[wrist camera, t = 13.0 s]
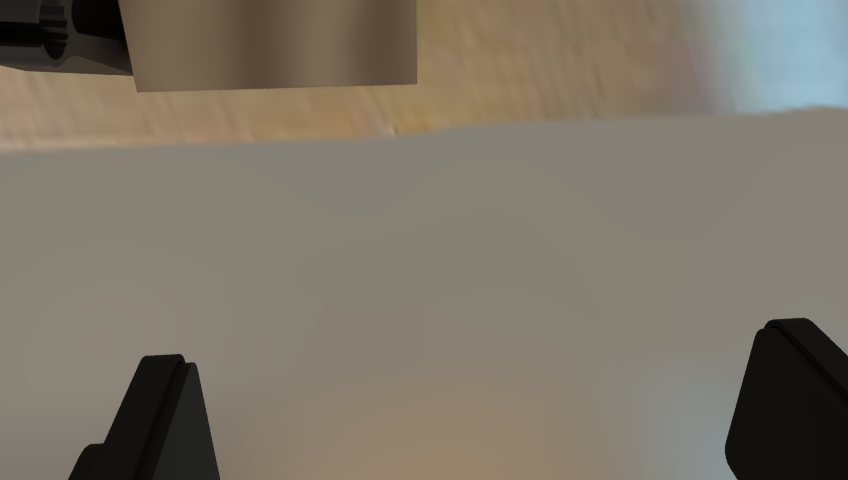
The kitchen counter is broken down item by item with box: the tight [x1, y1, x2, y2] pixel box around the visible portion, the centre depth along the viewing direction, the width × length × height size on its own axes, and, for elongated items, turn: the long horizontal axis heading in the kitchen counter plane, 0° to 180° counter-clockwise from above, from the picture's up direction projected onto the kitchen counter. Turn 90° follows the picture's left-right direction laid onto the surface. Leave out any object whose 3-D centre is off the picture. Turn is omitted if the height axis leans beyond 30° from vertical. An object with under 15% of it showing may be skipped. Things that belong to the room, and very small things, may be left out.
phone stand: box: [0, 0, 134, 76], centre depth 30 cm, size 9×6×12 cm, turn 176°
